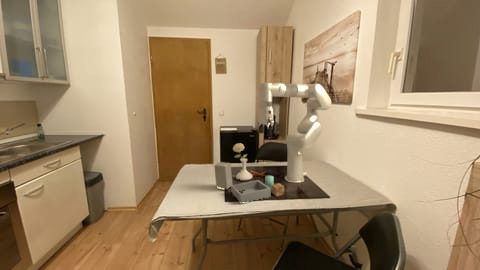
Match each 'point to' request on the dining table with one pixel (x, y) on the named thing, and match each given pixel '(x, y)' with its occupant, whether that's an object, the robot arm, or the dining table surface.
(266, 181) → the mint rounded capsule part
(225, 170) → the skincare box
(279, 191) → the walnut cube
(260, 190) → the tote
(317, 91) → the robot arm
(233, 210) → the dining table surface
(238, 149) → the flower in vase
